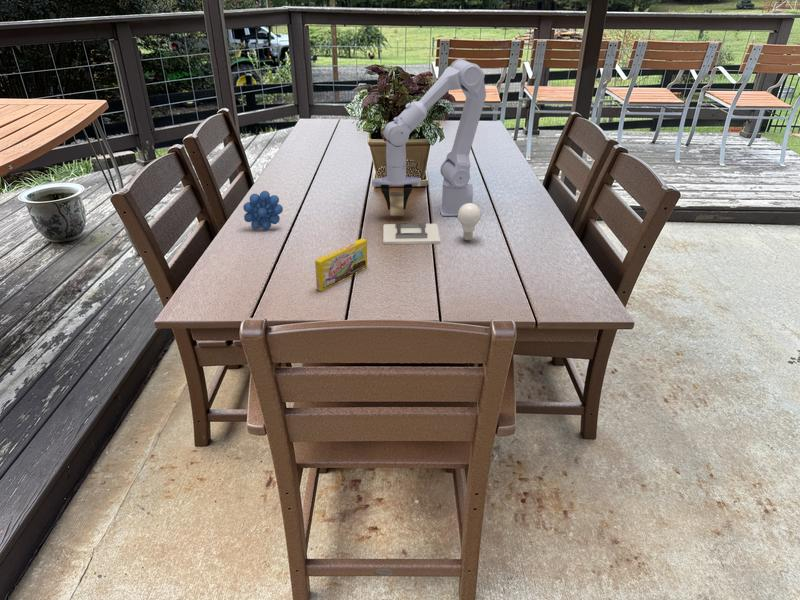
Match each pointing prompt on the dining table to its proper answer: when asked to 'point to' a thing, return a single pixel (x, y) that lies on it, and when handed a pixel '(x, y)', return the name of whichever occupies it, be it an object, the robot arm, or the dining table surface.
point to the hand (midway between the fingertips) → (396, 208)
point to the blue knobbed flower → (262, 210)
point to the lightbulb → (469, 219)
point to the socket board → (410, 233)
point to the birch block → (396, 203)
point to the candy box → (340, 264)
